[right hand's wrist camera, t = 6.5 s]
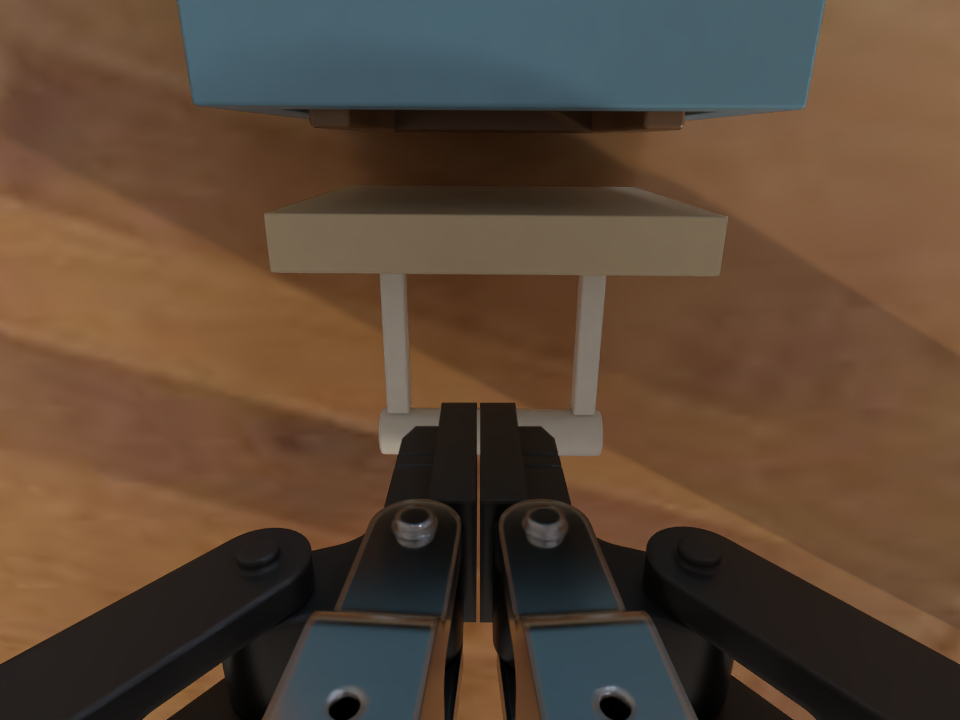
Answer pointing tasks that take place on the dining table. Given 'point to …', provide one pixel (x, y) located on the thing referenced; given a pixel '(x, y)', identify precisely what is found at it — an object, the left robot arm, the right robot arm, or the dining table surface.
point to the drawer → (496, 246)
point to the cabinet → (501, 55)
